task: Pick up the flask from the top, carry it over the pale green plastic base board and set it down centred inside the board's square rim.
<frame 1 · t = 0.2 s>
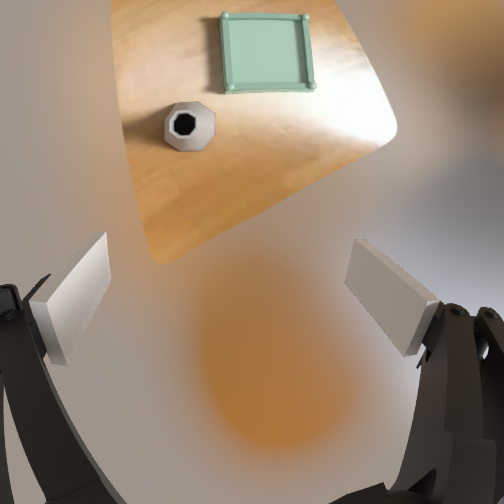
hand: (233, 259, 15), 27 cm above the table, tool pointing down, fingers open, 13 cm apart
base board: (266, 52, 33), on the table
flask: (189, 126, 36), on the table
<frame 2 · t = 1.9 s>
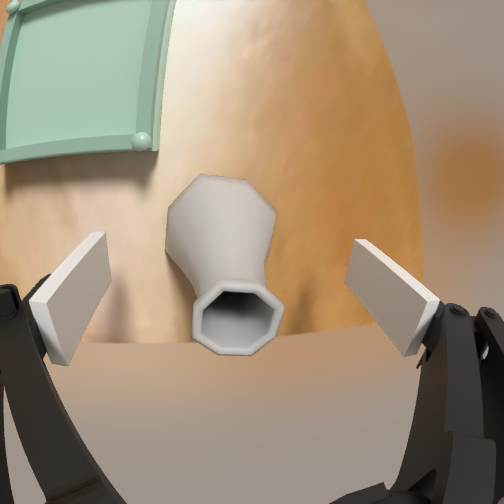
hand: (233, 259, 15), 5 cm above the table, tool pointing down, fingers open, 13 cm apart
base board: (77, 65, 13), on the table
flask: (219, 228, 19), on the table
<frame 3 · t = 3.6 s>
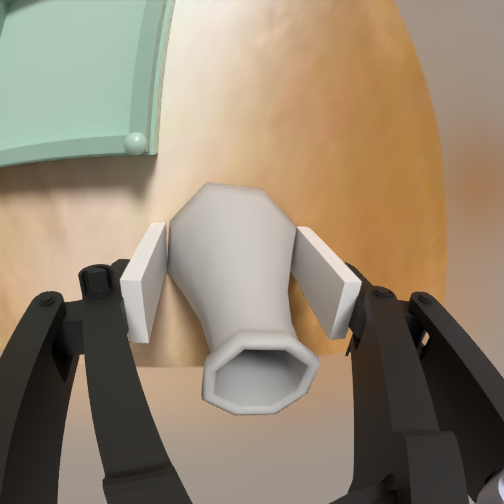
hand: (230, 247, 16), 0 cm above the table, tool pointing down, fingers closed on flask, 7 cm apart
base board: (65, 56, 10), on the table
flask: (230, 244, 16), on the table, touching gripper
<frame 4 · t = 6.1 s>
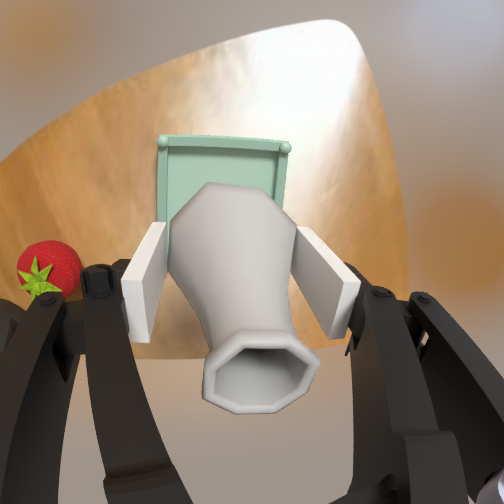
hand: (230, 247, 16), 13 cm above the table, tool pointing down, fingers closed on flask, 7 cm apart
strawberry: (69, 249, 28), on the table
base board: (219, 196, 28), on the table
flask: (230, 243, 16), point 13 cm above the table, touching gripper
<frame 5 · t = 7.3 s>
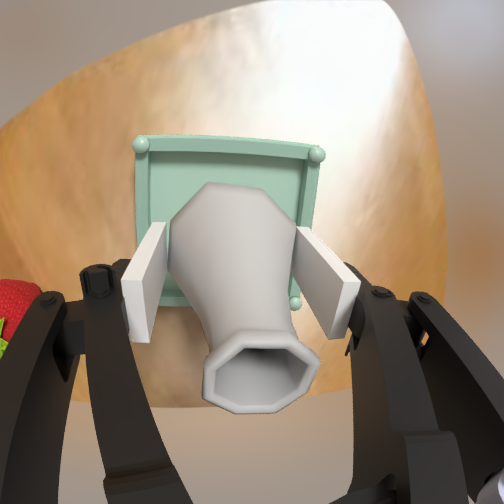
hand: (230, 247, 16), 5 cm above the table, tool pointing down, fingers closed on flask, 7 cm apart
strawberry: (35, 284, 20), on the table
base board: (223, 221, 21), on the table
flask: (230, 243, 16), point 5 cm above the table, touching gripper
when the fingers open (3 cm above the table, at t = 8.6 s): flask drops 1 cm, resting on base board.
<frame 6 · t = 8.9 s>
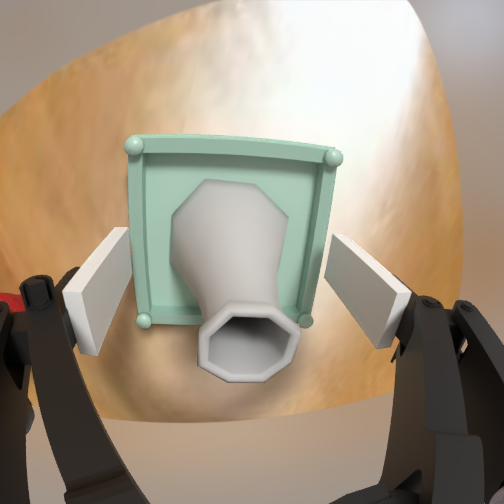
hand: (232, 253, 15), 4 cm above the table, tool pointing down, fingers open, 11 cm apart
strawberry: (25, 296, 18), on the table
base board: (227, 230, 19), on the table
flask: (227, 235, 18), point 1 cm above the table, touching base board
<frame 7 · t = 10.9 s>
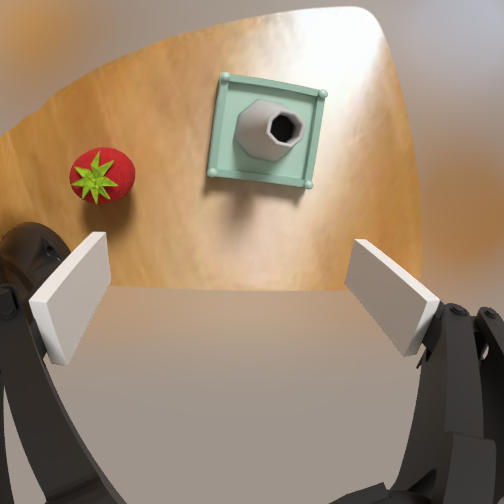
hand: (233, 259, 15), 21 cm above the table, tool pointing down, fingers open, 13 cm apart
strawberry: (118, 168, 31), on the table
base board: (265, 130, 32), on the table
flask: (266, 130, 31), point 1 cm above the table, touching base board
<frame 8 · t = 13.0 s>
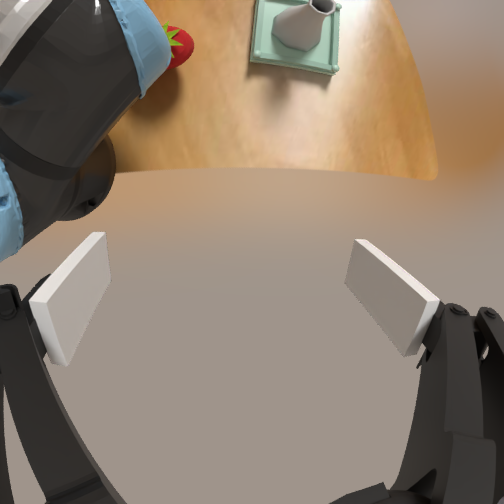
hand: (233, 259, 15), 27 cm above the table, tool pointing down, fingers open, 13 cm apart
strawberry: (168, 59, 31), on the table
base board: (295, 32, 32), on the table
flask: (296, 29, 31), point 1 cm above the table, touching base board
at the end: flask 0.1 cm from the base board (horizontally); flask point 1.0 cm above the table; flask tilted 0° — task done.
